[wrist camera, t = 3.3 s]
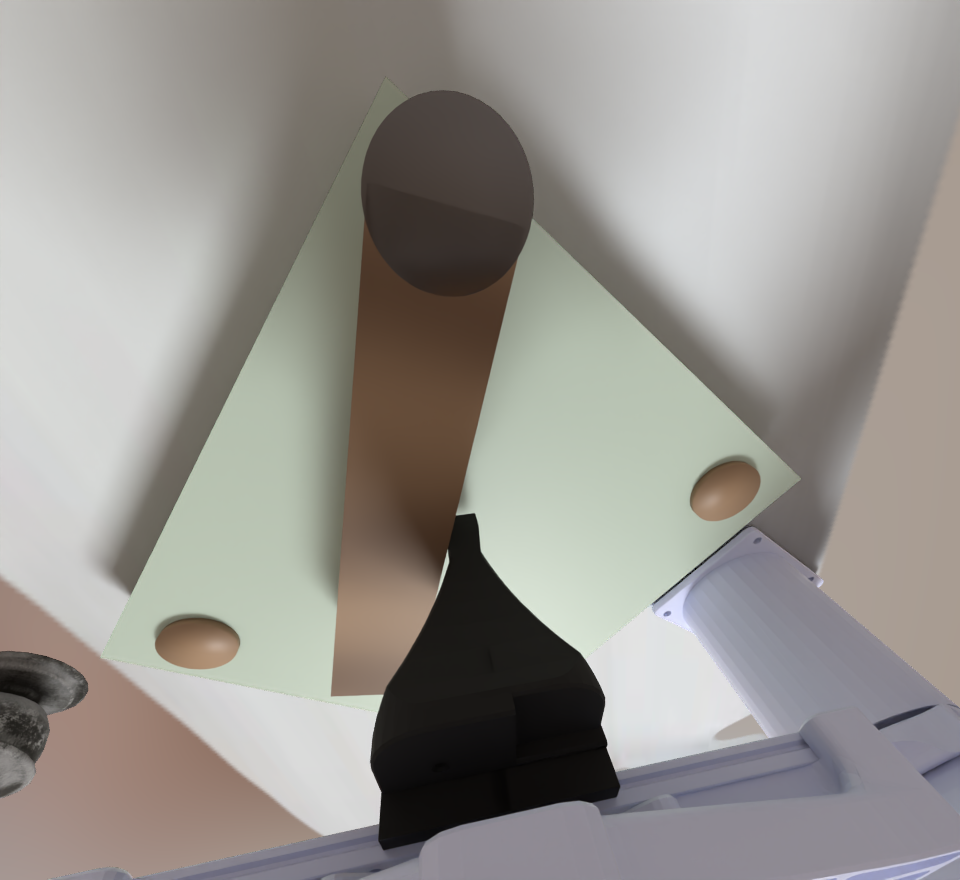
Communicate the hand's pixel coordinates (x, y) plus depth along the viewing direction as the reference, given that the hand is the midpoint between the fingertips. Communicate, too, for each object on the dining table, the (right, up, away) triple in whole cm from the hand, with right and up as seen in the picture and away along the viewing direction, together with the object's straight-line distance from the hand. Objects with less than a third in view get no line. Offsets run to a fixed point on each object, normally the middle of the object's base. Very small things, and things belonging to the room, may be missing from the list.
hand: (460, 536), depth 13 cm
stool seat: (0, -1, +5) cm, 5 cm away
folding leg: (-2, +3, -1) cm, 4 cm away
